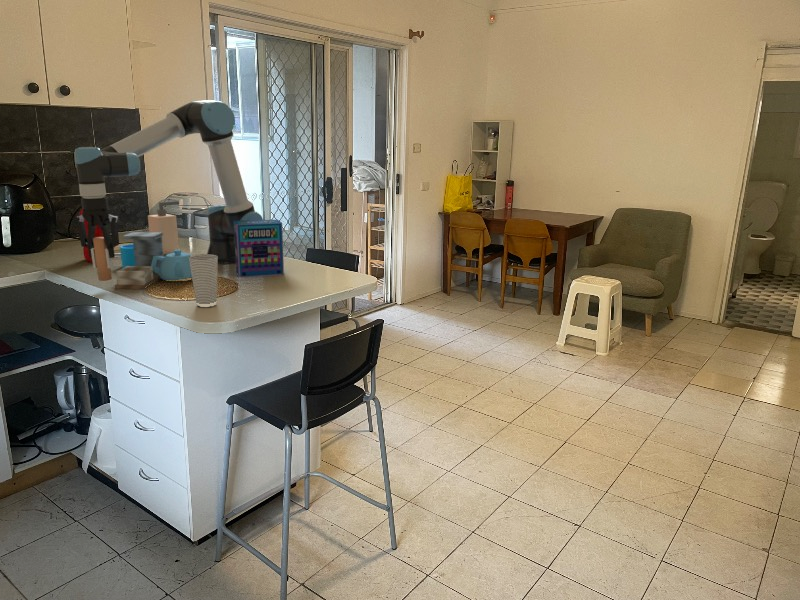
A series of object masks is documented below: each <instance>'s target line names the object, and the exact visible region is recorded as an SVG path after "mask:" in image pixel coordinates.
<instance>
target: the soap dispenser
mask: <svg viewBox="0 0 800 600" xmlns="http://www.w3.org/2000/svg"><path fill="white" fill-rule="evenodd" d="M174 205H175V206H176V205H177V206H178V205H180V201H179V200H169V201H159V202H158V207H159V209H157V211H156V212H157V214H150V215H147V222H148V232H156V233H163V236H162V246H163V255H167V254H170V253H174V250H178V249H179V250H180V246H179V235H178V234H179V233H178V222H177V215H174V214H169V213H167V211H166V209H164V207H165V206H166V207H167V206H174Z"/></svg>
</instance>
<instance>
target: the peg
mask: <svg viewBox="0 0 800 600" xmlns="http://www.w3.org/2000/svg"><path fill="white" fill-rule="evenodd" d="M93 244H94V251H95V258H96V265H97V268H96V271H97V278H98V279H97V280H98V281H99V282H102V281H103V282H104V281H110V280H112V279H113V278H112V270H111V268H108V267H107V260H106V253H105V249H106V248H107V245H106V242H105V240H104V237H96V238H93Z"/></svg>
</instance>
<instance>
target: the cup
mask: <svg viewBox="0 0 800 600" xmlns="http://www.w3.org/2000/svg"><path fill="white" fill-rule="evenodd" d="M189 263H190V269H191V275H192V280H191V281H192V285H193V291H194V293H193V294H194V298H195V304H196V303H199V304H210V303H214V302H216V301H218V264H219V263H218V256H216V255H212V254H207V253H206V254H204V253H203V254H201V253H200V254H194V255H191V256H190V257H189Z"/></svg>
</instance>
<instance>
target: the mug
mask: <svg viewBox="0 0 800 600" xmlns="http://www.w3.org/2000/svg"><path fill="white" fill-rule="evenodd" d="M119 249H120V258H121V267H122V268H124V267H126V266H135V256H134V246H133V243H132V244H124V245H121V246H119Z"/></svg>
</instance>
